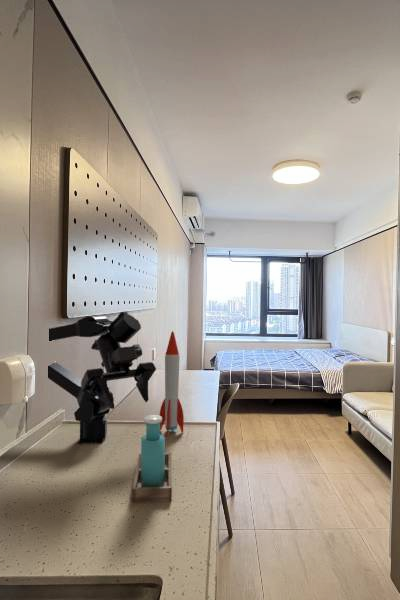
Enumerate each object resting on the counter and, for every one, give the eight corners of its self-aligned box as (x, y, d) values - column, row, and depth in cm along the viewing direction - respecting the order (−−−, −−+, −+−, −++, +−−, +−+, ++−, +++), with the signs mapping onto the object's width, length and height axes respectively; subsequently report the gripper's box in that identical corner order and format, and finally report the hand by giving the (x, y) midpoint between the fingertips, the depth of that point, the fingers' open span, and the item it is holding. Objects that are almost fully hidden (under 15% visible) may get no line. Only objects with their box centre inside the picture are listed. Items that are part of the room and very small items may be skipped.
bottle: (144, 495, 67) (144, 423, 67) (138, 483, 71) (139, 415, 71) (167, 490, 69) (167, 420, 69) (160, 478, 73) (161, 412, 73)
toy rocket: (183, 433, 100) (186, 331, 100) (167, 436, 97) (169, 332, 97) (174, 427, 105) (177, 330, 105) (158, 430, 102) (160, 330, 102)
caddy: (132, 502, 66) (132, 489, 66) (138, 464, 81) (139, 453, 81) (171, 501, 66) (171, 487, 66) (170, 463, 82) (171, 452, 82)
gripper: (85, 336, 81) (104, 392, 73) (153, 332, 93) (175, 380, 85) (74, 364, 87) (89, 419, 79) (138, 357, 99) (158, 404, 91)
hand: (130, 404), depth 83 cm, fingers open, 9 cm apart
